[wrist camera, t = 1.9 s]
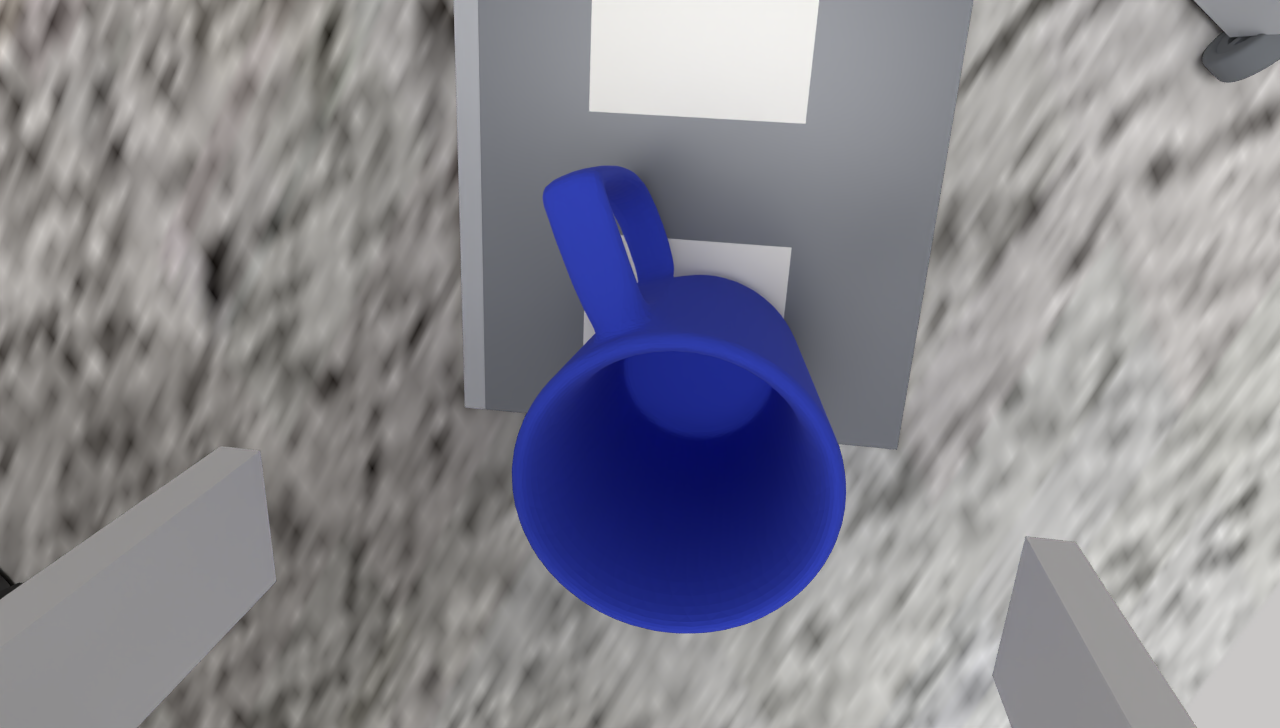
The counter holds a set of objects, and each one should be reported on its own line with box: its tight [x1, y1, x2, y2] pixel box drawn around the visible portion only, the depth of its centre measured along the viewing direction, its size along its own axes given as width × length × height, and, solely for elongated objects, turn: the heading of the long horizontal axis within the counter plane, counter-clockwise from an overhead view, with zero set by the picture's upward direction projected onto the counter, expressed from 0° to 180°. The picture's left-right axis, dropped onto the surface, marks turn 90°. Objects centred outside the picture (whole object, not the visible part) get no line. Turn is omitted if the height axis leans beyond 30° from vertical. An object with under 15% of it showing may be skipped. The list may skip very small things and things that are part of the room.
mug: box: [512, 166, 846, 633], centre depth 24 cm, size 8×12×10 cm
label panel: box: [454, 0, 973, 450], centre depth 28 cm, size 16×18×1 cm
